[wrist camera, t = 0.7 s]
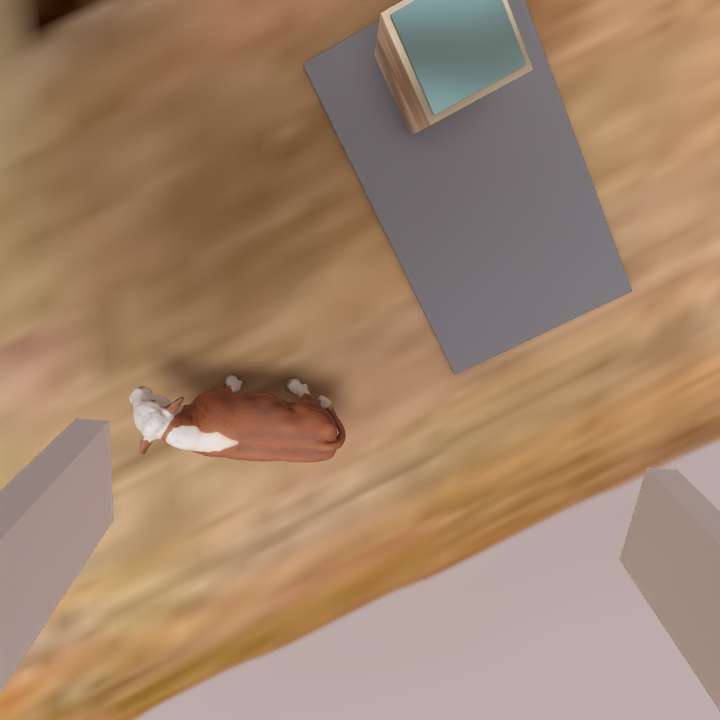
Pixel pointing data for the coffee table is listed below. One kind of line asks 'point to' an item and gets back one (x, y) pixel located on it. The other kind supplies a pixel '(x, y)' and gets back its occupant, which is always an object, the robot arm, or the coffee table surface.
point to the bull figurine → (242, 424)
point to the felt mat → (478, 200)
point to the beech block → (447, 55)
